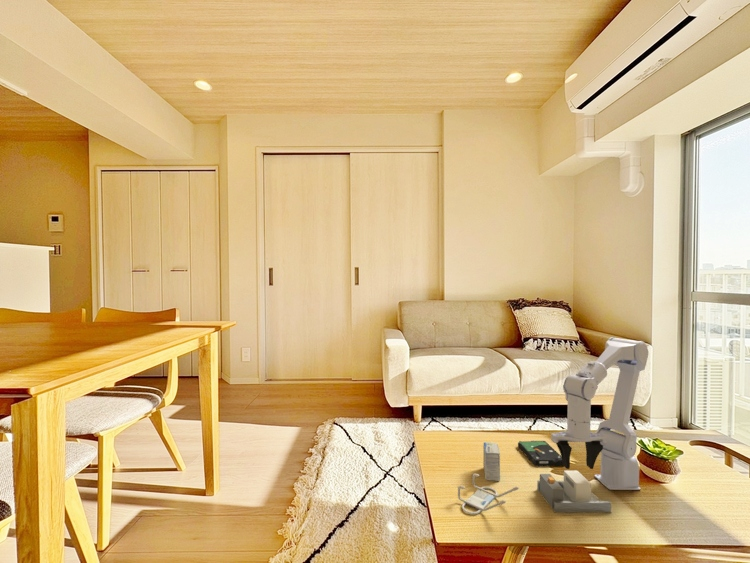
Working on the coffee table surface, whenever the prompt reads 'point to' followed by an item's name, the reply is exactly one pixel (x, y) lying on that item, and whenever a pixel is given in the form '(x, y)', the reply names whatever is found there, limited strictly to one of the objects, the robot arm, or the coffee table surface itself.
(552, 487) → the block
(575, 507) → the grey tray
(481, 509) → the wall mount rack
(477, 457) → the coffee table surface
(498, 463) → the medicine box
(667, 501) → the coffee table surface
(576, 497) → the block
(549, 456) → the disk drive
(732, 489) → the coffee table surface
